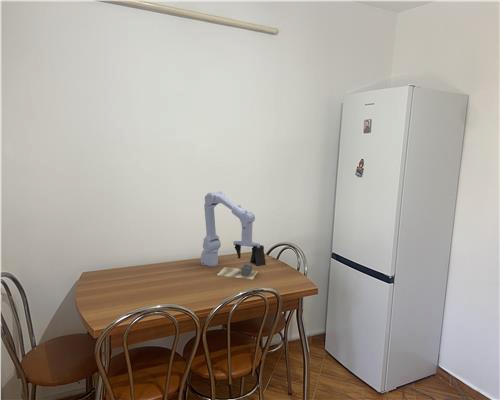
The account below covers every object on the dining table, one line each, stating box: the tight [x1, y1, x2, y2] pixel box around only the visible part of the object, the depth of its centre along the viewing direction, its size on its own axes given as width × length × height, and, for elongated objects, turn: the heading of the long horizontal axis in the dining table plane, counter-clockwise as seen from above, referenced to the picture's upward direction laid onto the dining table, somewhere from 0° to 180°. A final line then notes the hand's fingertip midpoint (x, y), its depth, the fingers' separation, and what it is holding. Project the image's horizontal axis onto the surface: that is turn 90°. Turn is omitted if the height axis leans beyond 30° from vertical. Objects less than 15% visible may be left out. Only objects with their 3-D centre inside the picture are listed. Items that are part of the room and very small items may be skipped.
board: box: [216, 266, 259, 280], centre depth 202 cm, size 20×14×1 cm
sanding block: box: [241, 263, 253, 277], centre depth 201 cm, size 4×8×4 cm, turn 167°
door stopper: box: [249, 244, 267, 267], centre depth 219 cm, size 9×6×12 cm, turn 33°
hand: (246, 258), depth 200 cm, fingers open, 7 cm apart
